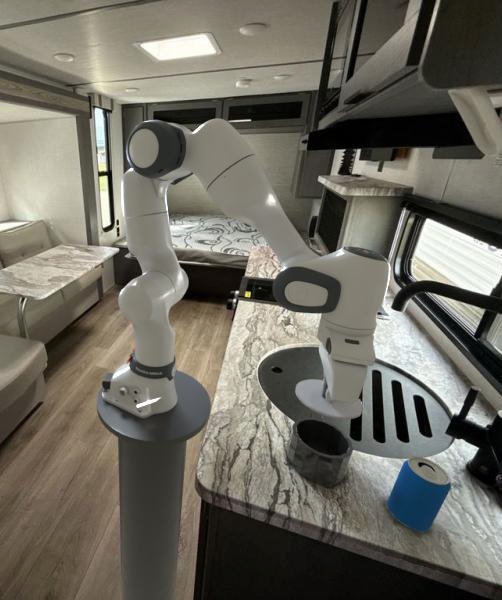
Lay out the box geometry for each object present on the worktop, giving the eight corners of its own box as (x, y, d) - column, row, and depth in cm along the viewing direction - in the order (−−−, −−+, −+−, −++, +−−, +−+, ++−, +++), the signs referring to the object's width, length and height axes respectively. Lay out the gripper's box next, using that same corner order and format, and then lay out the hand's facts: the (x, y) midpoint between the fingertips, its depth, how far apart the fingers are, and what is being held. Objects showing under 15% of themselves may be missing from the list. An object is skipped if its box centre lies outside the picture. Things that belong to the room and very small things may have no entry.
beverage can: (422, 507, 60) (444, 461, 56) (435, 540, 54) (461, 492, 50) (382, 494, 62) (400, 449, 58) (391, 524, 57) (412, 477, 53)
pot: (288, 484, 64) (294, 457, 62) (285, 428, 79) (291, 405, 76) (352, 505, 60) (362, 477, 58) (337, 442, 75) (344, 418, 72)
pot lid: (296, 411, 61) (300, 392, 59) (293, 378, 72) (296, 361, 70) (368, 429, 57) (375, 409, 55) (354, 391, 67) (359, 373, 66)
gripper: (319, 311, 69) (307, 364, 74) (333, 355, 51) (316, 421, 56) (351, 316, 67) (337, 370, 71) (379, 363, 49) (357, 431, 54)
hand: (328, 393), depth 63 cm, fingers closed on pot lid, 2 cm apart
